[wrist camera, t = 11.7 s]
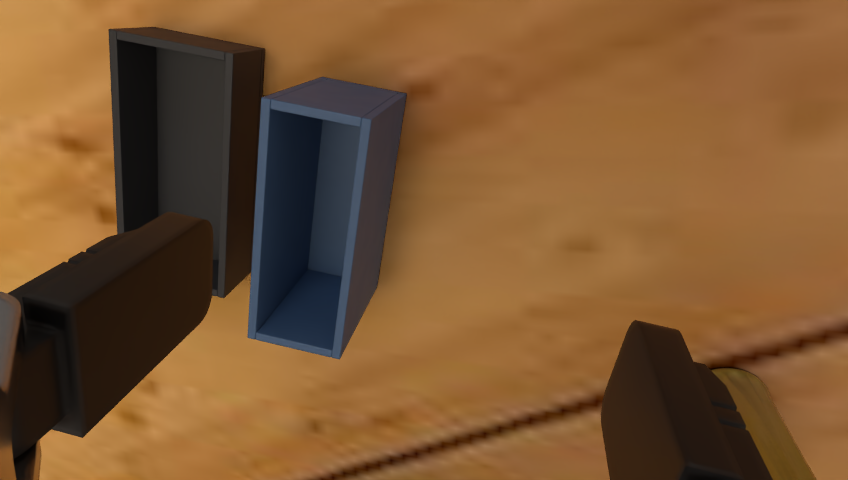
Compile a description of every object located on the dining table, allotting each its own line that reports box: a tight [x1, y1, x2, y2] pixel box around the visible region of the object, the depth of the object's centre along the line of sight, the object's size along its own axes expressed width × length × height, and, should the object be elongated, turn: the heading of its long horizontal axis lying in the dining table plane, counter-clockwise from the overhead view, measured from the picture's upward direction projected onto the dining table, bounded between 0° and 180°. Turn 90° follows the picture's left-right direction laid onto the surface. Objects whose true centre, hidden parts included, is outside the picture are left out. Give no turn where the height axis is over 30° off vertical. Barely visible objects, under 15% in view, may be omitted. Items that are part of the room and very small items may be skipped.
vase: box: [711, 368, 816, 480], centre depth 35 cm, size 6×6×14 cm
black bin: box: [109, 27, 265, 298], centre depth 38 cm, size 16×8×4 cm, turn 170°
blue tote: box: [248, 77, 407, 359], centre depth 35 cm, size 14×6×10 cm, turn 170°
